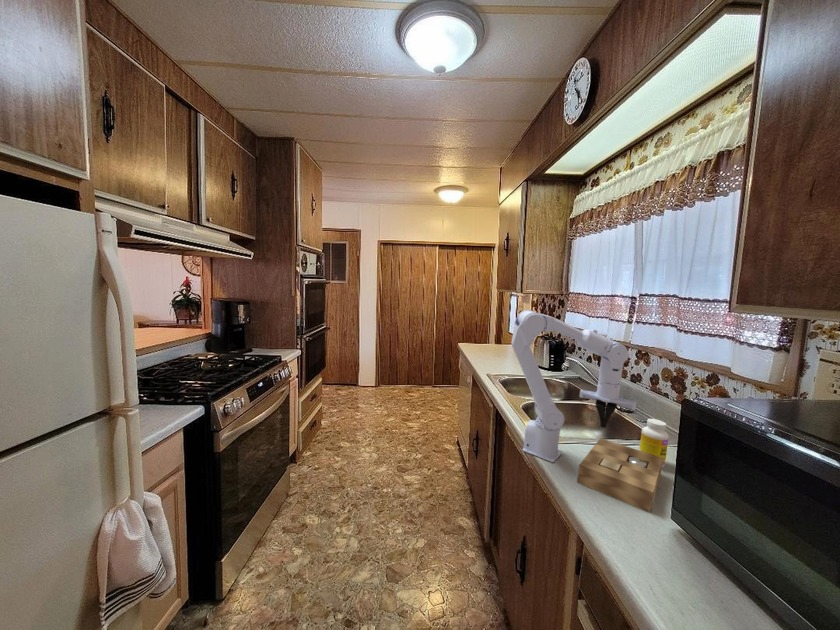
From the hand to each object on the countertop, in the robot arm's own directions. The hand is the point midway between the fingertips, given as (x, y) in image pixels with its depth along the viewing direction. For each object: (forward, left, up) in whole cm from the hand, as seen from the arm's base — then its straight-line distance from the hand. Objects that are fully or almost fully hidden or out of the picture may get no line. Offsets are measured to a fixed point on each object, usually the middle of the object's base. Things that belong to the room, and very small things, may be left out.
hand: (603, 426), depth 101 cm
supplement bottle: (+12, +10, -11) cm, 19 cm away
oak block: (+7, -7, -10) cm, 14 cm away
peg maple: (+5, -12, -10) cm, 17 cm away
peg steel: (+10, -4, -10) cm, 15 cm away
